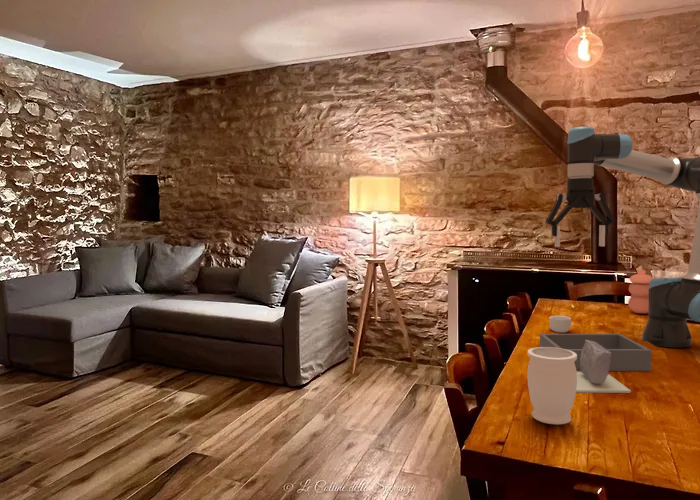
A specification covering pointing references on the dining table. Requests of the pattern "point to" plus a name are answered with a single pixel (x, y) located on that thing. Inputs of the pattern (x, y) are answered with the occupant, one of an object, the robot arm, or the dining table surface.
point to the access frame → (622, 348)
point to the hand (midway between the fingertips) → (579, 246)
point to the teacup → (560, 323)
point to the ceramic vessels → (640, 292)
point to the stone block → (595, 362)
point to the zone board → (599, 385)
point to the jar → (552, 383)
